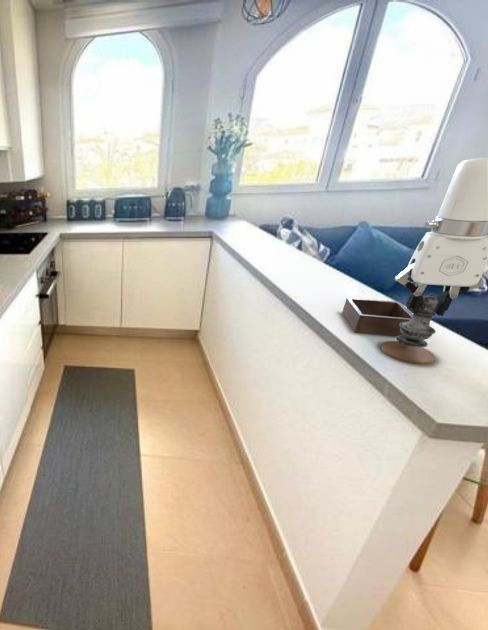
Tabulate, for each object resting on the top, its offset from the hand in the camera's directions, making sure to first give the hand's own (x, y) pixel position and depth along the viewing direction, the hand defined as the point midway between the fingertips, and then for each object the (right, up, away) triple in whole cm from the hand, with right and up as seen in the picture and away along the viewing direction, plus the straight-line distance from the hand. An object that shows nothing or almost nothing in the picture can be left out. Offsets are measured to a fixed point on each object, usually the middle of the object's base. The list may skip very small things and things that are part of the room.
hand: (424, 311), depth 75 cm
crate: (+4, -4, +17) cm, 18 cm away
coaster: (+1, -10, +5) cm, 11 cm away
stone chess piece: (+1, -7, +3) cm, 8 cm away
